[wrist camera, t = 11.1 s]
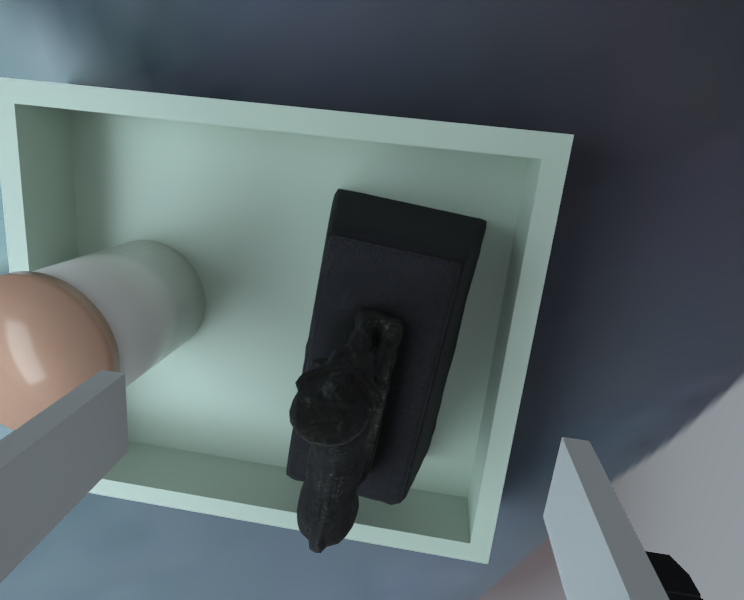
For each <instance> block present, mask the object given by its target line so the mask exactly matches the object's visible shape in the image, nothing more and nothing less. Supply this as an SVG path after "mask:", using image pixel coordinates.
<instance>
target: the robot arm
mask: <svg viewBox="0 0 744 600" xmlns="http://www.w3.org/2000/svg"><path fill="white" fill-rule="evenodd" d="M128 451H129V448H128V427H127V406H126V384H125V373H119V372H112V371H105V370H100V371H99V372H98V373H96V374H95V375H93V376H92V377H90V378H89V379H88V380H86V381H85V382H83V383H82V384H80V385H79V386H78V387H76V388H75V389H73V390H72V391H70V392H69V393H68V394H66V395H65V396H63V397H62V398H60V399H59V400H57V401H56V402H55V403H53V404H52V405H50V406H49V407H47V408H46V409H45V410H43V411H42V412H40V413H39V414H37V415H36V416H35V417H33V418H32V419H30V420H29V421H27V422H26V423H25V424H23V425H22V426H20V427H19V428H17V429H16V430H15V431H13V432H12V433H10V434H9V435H7V436H6V437H4V438H3V439H2V440H0V583H1V582H2V581H3V580H4V578H5V577H6V576H7V575H8V574H9V573H10V572H11V571H12V570H13V569H14V568H15V567H16V566H17V565H18V564H19V563H20V562H21V561H22V560H23V559H24V558H25V557H26V556H27V555H28V554H29V553H30V552H31V551H32V550H33V549H34V548H35V547H36V546H37V545H38V544H39V543H40V542H41V541H42V540H43V539H44V537H45V536H46V535H47V534H48V533H49V532H50V531H51V530H52V529H53V528H54V527H55V526H56V525H57V524H58V523H59V522H60V521H61V520H62V519H63V518H64V517H65V516H66V515H67V514H68V513H69V512H70V511H71V510H72V509H73V508H74V507H75V506H76V505H77V504H78V503H79V502H80V501H81V500H82V499H83V498H84V496H85V495H86V494H87V493H88V492H89V491H90V490H91V489H92V488H93V487H94V486H95V485H96V484H97V483H98V482H99V481H100V480H101V479H102V478H103V477H104V476H105V475H106V474H107V473H108V472H109V471H110V470H111V469H112V468H113V467H114V466H115V465H116V464H117V463H118V462H119V461H120V460H121V459H122V458H123V457H124V455H125V454H126V453H127V452H128ZM543 518H544V521H545V525H546V528H547V532H548V535H549V539H550V542H551V546H552V549H553V553H554V557H555V560H556V564H557V567H558V571H559V574H560V578H561V581H562V585H563V589H564V592H565V596H566V599H567V600H703V599H701V597H700V593H699V591H698V590H697V588H696V586H695V584H694V583H693V581H692V579H691V577H690V576H689V574H688V573H687V572H686V571H685V570H684V569H683V568H681V566H680V565H679V564H678V563H677V562H676V561H675V560H673V558H672V557H671V556H670V555H665V554H659V553H652V552H647V551H645V550H644V548H643V547H642V544H641V543H640V540H639V539H638V537H637V535H636V532H635V531H634V529H633V527H632V525H631V523H630V521H629V519H628V517H627V515H626V513H625V511H624V509H623V507H622V505H621V503H620V501H619V499H618V497H617V495H616V493H615V491H614V489H613V487H612V485H611V483H610V481H609V479H608V477H607V475H606V473H605V471H604V469H603V467H602V465H601V463H600V461H599V459H598V457H597V455H596V453H595V451H594V449H593V447H592V445H591V443H590V441H586V440H579V439H572V438H566V437H562V439H561V443H560V448H559V452H558V456H557V460H556V464H555V469H554V473H553V477H552V481H551V486H550V490H549V494H548V498H547V502H546V507H545V511H544V515H543Z"/></svg>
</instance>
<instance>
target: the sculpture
mask: <svg viewBox="0 0 744 600" xmlns="http://www.w3.org/2000/svg"><path fill="white" fill-rule="evenodd" d="M486 224H487V221H486V220H483V219H480V218H475V217H470V216H466V215H461V214H457V213H452V212H448V211H443V210H438V209H433V208H429V207H425V206H420V205H416V204H411V203H406V202H402V201H397V200H392V199H387V198H383V197H378V196H374V195H369V194H365V193H360V192H355V191H349V190H344V189H338V190H337V191H336V193H335V195H334V198H333V202H332V207H331V212H330V217H329V222H328V228H327V233H326V239H325V245H324V251H323V257H322V263H321V269H320V274H319V279H318V285H317V291H316V297H315V303H314V308H313V314H312V320H311V325H310V331H309V337H308V341H307V344H306V348H305V360H304V365H303V370H302V375H301V376H300V377H299V378H298V379H297V381H296V382H295V384H296V387H297V390H298V392H297V393H296V395H295V397H294V399H293V401H292V404H291V407H290V410H289V417H290V423H291V425H292V427H293V430H292V435H291V441H290V448H289V454H288V461H287V468H286V475H287V476H289V477H290V478H292V479H294V480H296V481H302V482H303V485H302V488H301V491H300V496H299V501H298V506H297V523H298V527H299V530H300V531H301V533H302V534H303V535H304V536H305V537H306V538H307V539H308V540H309V547H310V550H312V551H313V552H315V553H321V552H322V551H323V550H324V549H325V548H326V547H327V546H331V545H334V544H338V543H339V542H340V541H342V540H343V539H344V538H345V537H346V535H347V534H348V533H349V531H350V530H351V528H352V527H353V525H354V522H355V519H356V516H357V513H358V509H359V497H358V496H361V497H365V498H368V499H372V500H376V501H381V502H384V503H387V504H389V505H394V504H399V503H401V502H402V501H403V500H404V499H405V498H406V496H407V494H408V492H409V489H410V487H411V486H412V484H413V482H414V480H415V477H416V475H417V473H418V471H419V469H420V467H421V465H422V462H423V460H424V458H425V456H426V454H427V452H428V450H429V447H430V444H431V440H432V436H433V433H434V431H435V427H436V421H437V417H438V413H439V410H440V406H441V402H442V397H443V392H444V388H445V384H446V381H447V377H448V373H449V370H450V367H451V363H452V360H453V356H454V353H455V349H456V345H457V340H458V335H459V331H460V326H461V322H462V317H463V313H464V309H465V304H466V300H467V296H468V293H469V290H470V286H471V282H472V279H473V276H474V273H475V269H476V265H477V261H478V258H479V255H480V251H481V245H482V242H483V239H484V235H485V231H486Z"/></svg>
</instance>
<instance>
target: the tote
mask: <svg viewBox="0 0 744 600" xmlns="http://www.w3.org/2000/svg"><path fill="white" fill-rule="evenodd" d="M573 137H574V135H572V134H562V133H552V132H542V131H532V130H522V129H512V128H502V127H492V126H482V125H473V124H463V123H453V122H443V121H433V120H423V119H413V118H403V117H393V116H383V115H373V114H363V113H353V112H343V111H333V110H323V109H313V108H303V107H293V106H283V105H273V104H263V103H253V102H243V101H233V100H223V99H213V98H203V97H193V96H184V95H174V94H164V93H154V92H144V91H134V90H124V89H114V88H104V87H94V86H84V85H74V84H64V83H54V82H44V81H34V80H24V79H14V78H4V77H0V181H1V191H2V201H3V211H4V221H5V231H6V241H7V251H8V261H9V271H10V273H11V272H18V271H35V270H39V269H42V268H45V267H49V266H52V265H55V264H58V263H62V262H65V261H68V260H72V259H75V258H78V257H82V256H85V255H88V254H91V253H95V252H98V251H101V250H105V249H108V248H111V247H115V246H118V245H121V244H125V243H128V242H132V241H137V240H150V241H155V242H159V243H162V244H165V245H167V246H169V247H171V248H173V249H174V250H176V251H177V252H179V253H180V254H181V255H182V256H184V257H185V258H186V259H187V260H188V262H189V263H190V264H191V265H192V266H193V268H194V269H195V271H196V273H197V274H198V276H199V278H200V280H201V283H202V286H203V289H204V294H205V313H204V317H203V320H202V323H201V325H200V327H199V329H198V330H197V332H196V333H195V334H194V335H193V336H192V337H191V338H190V339H189V340H188V341H187V342H185V343H184V344H183V345H181V346H180V347H179V348H177V349H176V350H175V351H173V352H172V353H171V354H169V355H168V356H167V357H165V358H164V359H163V360H161V361H160V362H159V363H157V364H156V365H155V366H154V367H152V368H151V369H150V370H148V371H147V372H146V373H144V374H143V375H142V376H140V377H139V378H138V379H136V380H135V381H134V382H132V383H131V384H130V385H128V386H127V387H126V406H127V427H128V448H129V451H128V452H127V453H126V454H125V455H124V457H123V458H122V459H121V460H120V461H119V462H118V463H117V464H116V465H115V466H114V467H113V468H112V469H111V470H110V471H109V472H108V473H107V474H106V475H105V476H104V477H103V478H102V479H101V480H100V481H99V482H98V483H97V484H96V485H95V486H94V487H93V488H92V489H91V490H90V491H89V492H88V493H93V494H99V495H104V496H110V497H115V498H121V499H127V500H132V501H138V502H143V503H149V504H155V505H160V506H166V507H171V508H177V509H183V510H188V511H194V512H199V513H205V514H210V515H216V516H222V517H227V518H233V519H238V520H244V521H250V522H255V523H261V524H266V525H272V526H278V527H283V528H289V529H294V530H299V527H298V523H297V506H298V501H299V496H300V491H301V488H302V485H303V482H302V481H296V480H294V479H292V478H290V477H289V476H287V475H286V468H287V461H288V454H289V448H290V441H291V435H292V430H293V427H292V425H291V423H290V417H289V410H290V407H291V404H292V401H293V399H294V397H295V395H296V393H297V392H298V390H297V387H296V384H295V382H296V381H297V379H298V378H299V377H300V376H301V375H302V370H303V365H304V360H305V348H306V344H307V341H308V337H309V331H310V325H311V320H312V314H313V308H314V303H315V297H316V291H317V285H318V279H319V274H320V269H321V263H322V257H323V251H324V245H325V239H326V233H327V228H328V222H329V217H330V212H331V207H332V202H333V198H334V195H335V193H336V191H337V190H338V189H344V190H349V191H355V192H360V193H365V194H369V195H374V196H378V197H383V198H387V199H392V200H397V201H402V202H406V203H411V204H416V205H420V206H425V207H429V208H433V209H438V210H443V211H448V212H452V213H457V214H461V215H466V216H470V217H475V218H480V219H483V220H486V221H487V224H486V231H485V235H484V239H483V242H482V245H481V251H480V255H479V258H478V261H477V265H476V269H475V273H474V276H473V279H472V282H471V286H470V290H469V293H468V296H467V300H466V304H465V309H464V313H463V317H462V322H461V326H460V331H459V335H458V340H457V345H456V349H455V353H454V356H453V360H452V363H451V367H450V370H449V373H448V377H447V381H446V384H445V388H444V392H443V397H442V402H441V406H440V410H439V413H438V417H437V421H436V427H435V431H434V433H433V436H432V440H431V444H430V447H429V450H428V452H427V454H426V456H425V458H424V460H423V462H422V465H421V467H420V469H419V471H418V473H417V475H416V477H415V480H414V482H413V484H412V486H411V487H410V489H409V492H408V494H407V496H406V498H405V499H404V500H403V501H402V502H401V503H399V504H394V505H389V504H387V503H384V502H381V501H376V500H372V499H368V498H365V497H361V496H358V497H359V509H358V513H357V516H356V519H355V522H354V525H353V527H352V528H351V530H350V531H349V533H348V534H347V535H346V537H345V539H350V540H356V541H361V542H367V543H373V544H378V545H384V546H389V547H395V548H400V549H406V550H412V551H417V552H423V553H428V554H434V555H440V556H445V557H451V558H456V559H462V560H468V561H473V562H479V563H484V564H488V561H489V556H490V551H491V546H492V541H493V536H494V531H495V526H496V521H497V516H498V511H499V506H500V501H501V496H502V491H503V486H504V481H505V476H506V471H507V466H508V461H509V456H510V451H511V446H512V441H513V436H514V431H515V426H516V421H517V416H518V411H519V406H520V401H521V397H522V392H523V387H524V382H525V377H526V372H527V367H528V362H529V357H530V352H531V347H532V342H533V337H534V332H535V327H536V322H537V317H538V312H539V307H540V302H541V297H542V292H543V287H544V282H545V277H546V272H547V267H548V262H549V257H550V252H551V247H552V242H553V237H554V232H555V227H556V222H557V217H558V212H559V207H560V202H561V197H562V192H563V187H564V182H565V177H566V172H567V167H568V162H569V157H570V152H571V147H572V142H573Z"/></svg>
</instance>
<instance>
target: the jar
mask: <svg viewBox="0 0 744 600" xmlns="http://www.w3.org/2000/svg"><path fill="white" fill-rule="evenodd" d="M204 313H205V294H204V289H203V286H202V283H201V280H200V278H199V276H198V274H197V273H196V271H195V269H194V268H193V266H192V265H191V264H190V263H189V262H188V260H187V259H186V258H185V257H184V256H182V255H181V254H180V253H179V252H177V251H176V250H174V249H173V248H171V247H169V246H167V245H165V244H162V243H159V242H155V241H150V240H137V241H132V242H128V243H125V244H121V245H118V246H115V247H111V248H108V249H105V250H101V251H98V252H95V253H91V254H88V255H85V256H82V257H78V258H75V259H72V260H68V261H65V262H62V263H58V264H55V265H52V266H49V267H45V268H42V269H39V270H35V271H18V272H11V273H7V274H3V275H0V423H1V424H2V425H4V426H6V427H8V428H10V429H12V430H16V429H17V428H19V427H20V426H22V425H23V424H25V423H26V422H27V421H29V420H30V419H32V418H33V417H35V416H36V415H37V414H39V413H40V412H42V411H43V410H45V409H46V408H47V407H49V406H50V405H52V404H53V403H55V402H56V401H57V400H59V399H60V398H62V397H63V396H65V395H66V394H68V393H69V392H70V391H72V390H73V389H75V388H76V387H78V386H79V385H80V384H82V383H83V382H85V381H86V380H88V379H89V378H90V377H92V376H93V375H95V374H96V373H98V372H99V371H100V370H105V371H112V372H119V373H125V384H126V387H127V386H128V385H130V384H131V383H132V382H134V381H135V380H136V379H138V378H139V377H140V376H142V375H143V374H144V373H146V372H147V371H148V370H150V369H151V368H152V367H154V366H155V365H156V364H157V363H159V362H160V361H161V360H163V359H164V358H165V357H167V356H168V355H169V354H171V353H172V352H173V351H175V350H176V349H177V348H179V347H180V346H181V345H183V344H184V343H185V342H187V341H188V340H189V339H190V338H191V337H192V336H193V335H194V334H195V333H196V332H197V330H198V329H199V327H200V325H201V323H202V320H203V317H204Z"/></svg>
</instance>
